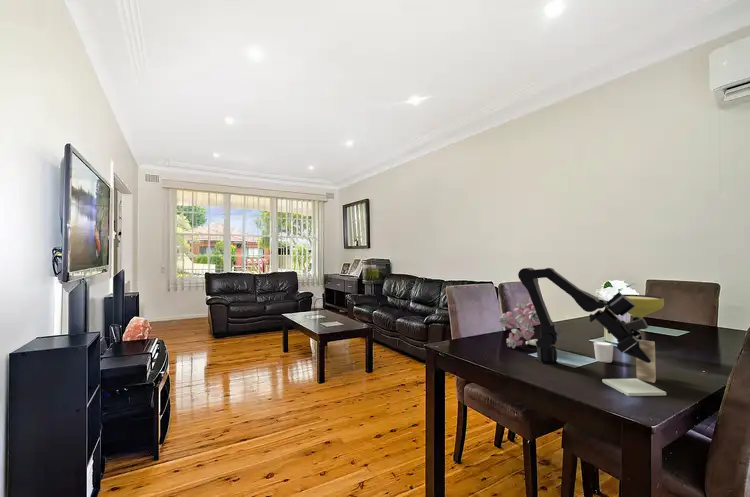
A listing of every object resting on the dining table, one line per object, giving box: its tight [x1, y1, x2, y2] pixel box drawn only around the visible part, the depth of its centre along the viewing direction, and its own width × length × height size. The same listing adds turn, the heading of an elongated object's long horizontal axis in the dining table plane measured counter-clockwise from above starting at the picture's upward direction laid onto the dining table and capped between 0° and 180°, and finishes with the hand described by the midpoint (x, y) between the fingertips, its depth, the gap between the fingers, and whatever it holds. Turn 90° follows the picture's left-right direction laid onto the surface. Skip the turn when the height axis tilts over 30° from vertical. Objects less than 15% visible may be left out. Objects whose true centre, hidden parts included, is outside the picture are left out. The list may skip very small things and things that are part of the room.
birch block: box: [635, 339, 657, 384], centre depth 124 cm, size 5×5×13 cm
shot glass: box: [593, 341, 614, 363], centre depth 146 cm, size 7×7×7 cm
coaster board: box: [601, 378, 667, 397], centre depth 115 cm, size 12×12×1 cm
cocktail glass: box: [612, 294, 665, 356], centre depth 154 cm, size 18×18×25 cm
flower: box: [497, 297, 540, 349], centre depth 170 cm, size 20×22×25 cm
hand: (650, 359), depth 123 cm, fingers open, 8 cm apart
